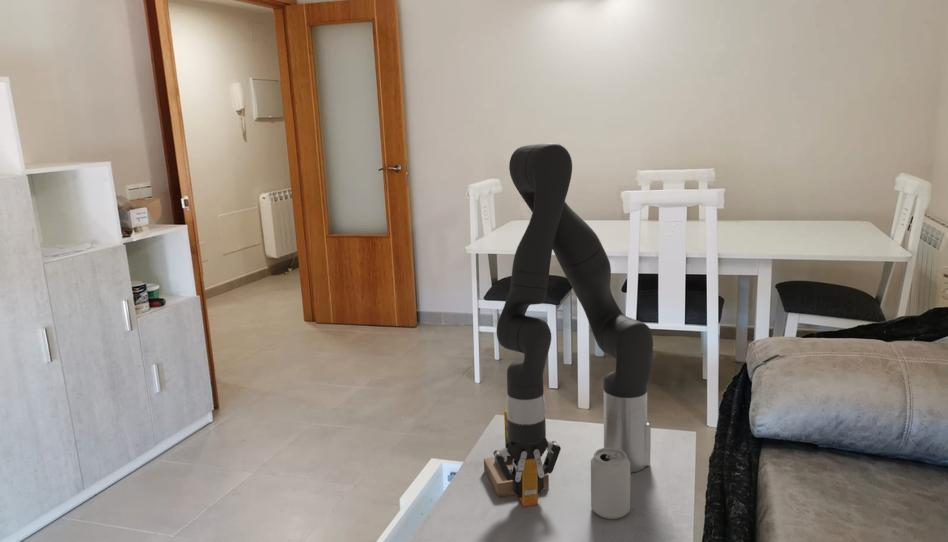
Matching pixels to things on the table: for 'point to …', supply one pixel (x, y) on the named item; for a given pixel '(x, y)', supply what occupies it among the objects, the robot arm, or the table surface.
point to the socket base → (503, 476)
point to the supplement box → (529, 483)
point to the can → (610, 483)
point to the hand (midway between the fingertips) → (528, 493)
